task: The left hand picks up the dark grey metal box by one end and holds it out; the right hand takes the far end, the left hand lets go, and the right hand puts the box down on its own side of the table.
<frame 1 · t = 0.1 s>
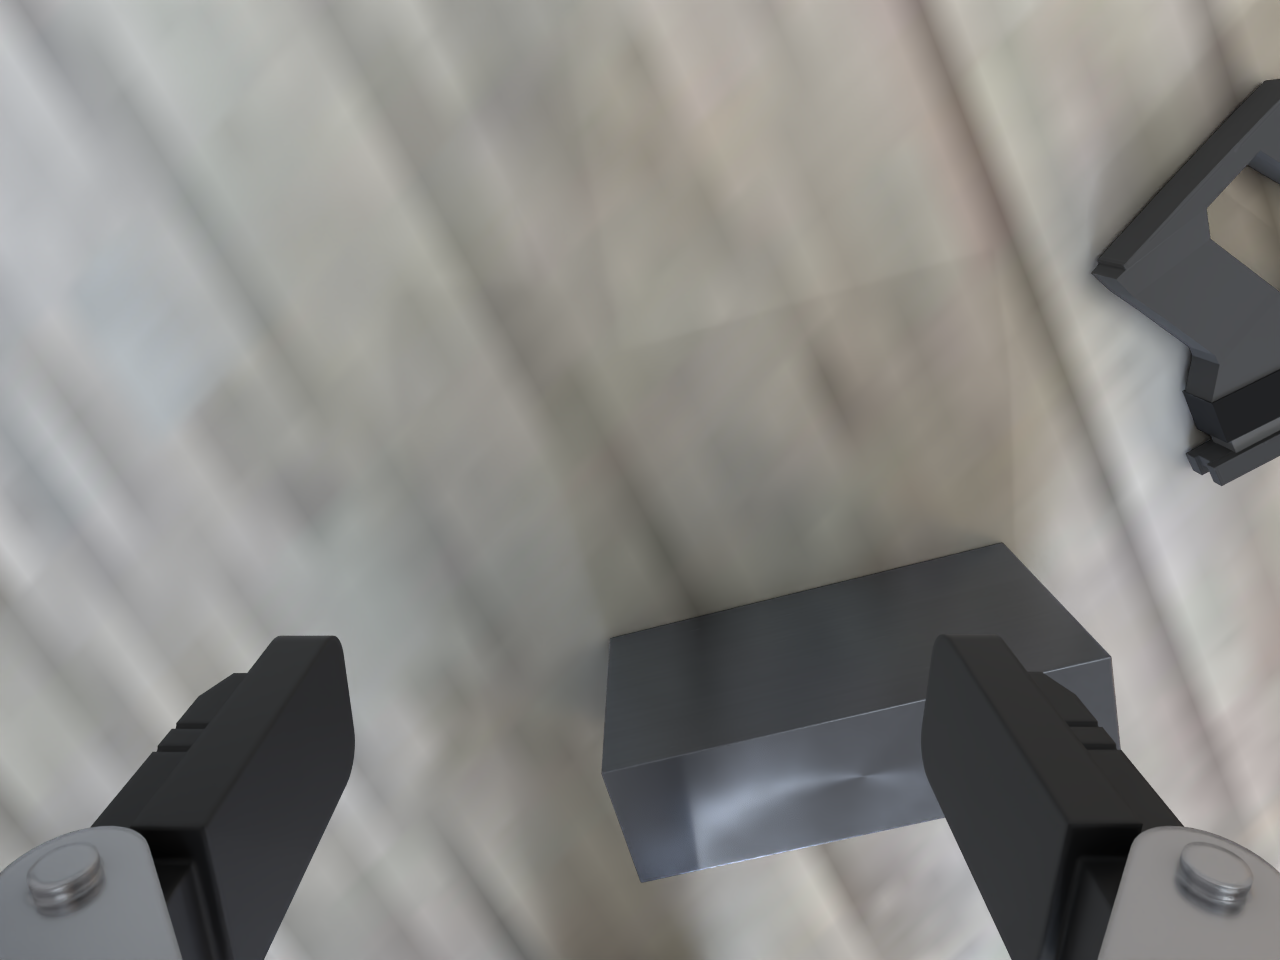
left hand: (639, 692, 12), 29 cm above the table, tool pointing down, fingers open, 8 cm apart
box: (813, 640, 45), on the table
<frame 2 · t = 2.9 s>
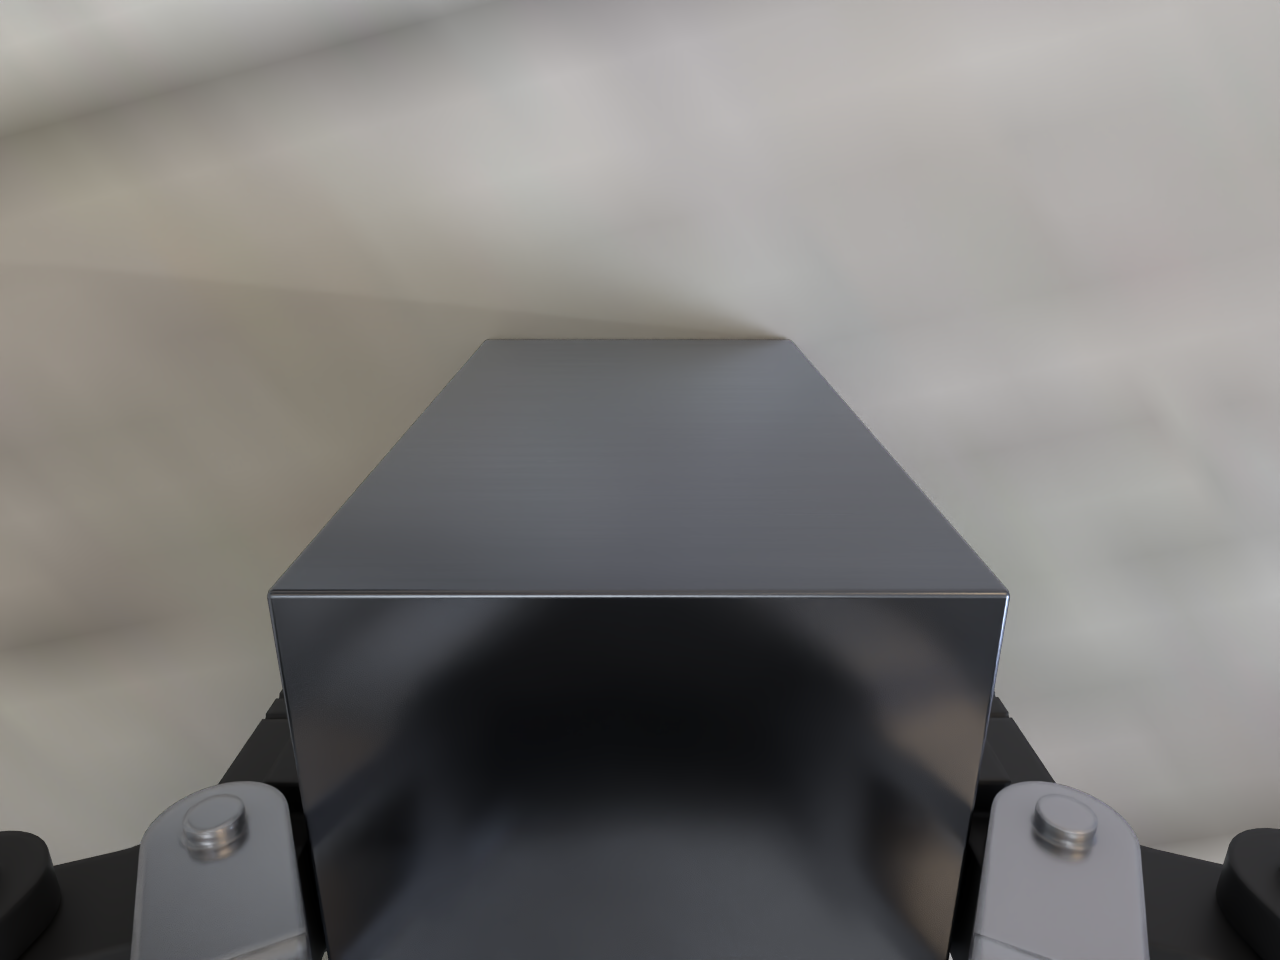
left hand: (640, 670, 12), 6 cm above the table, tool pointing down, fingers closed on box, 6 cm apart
box: (638, 768, 20), on the table, touching left hand
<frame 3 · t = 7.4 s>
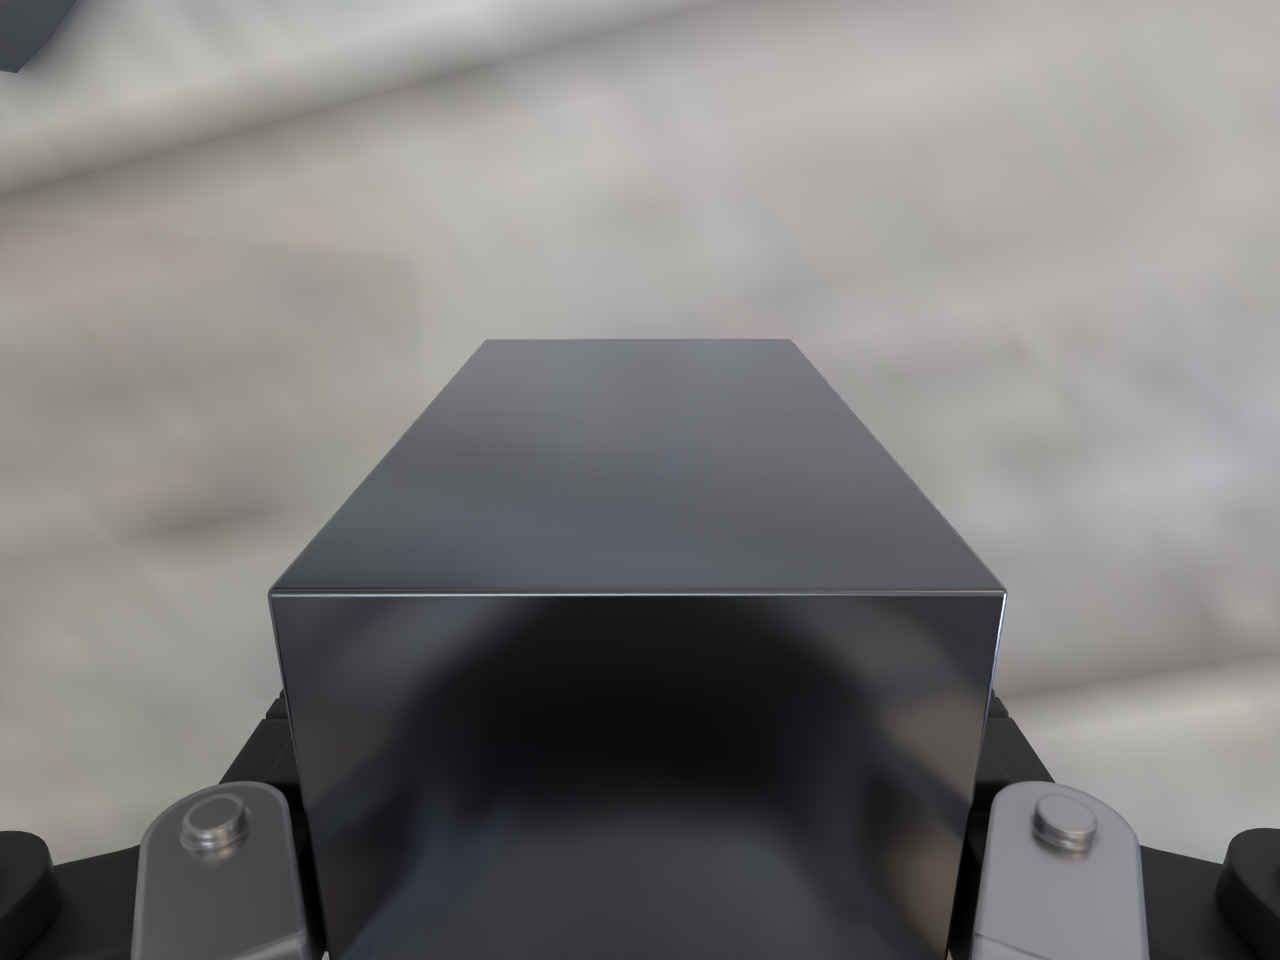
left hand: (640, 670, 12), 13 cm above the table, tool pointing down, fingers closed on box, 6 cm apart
box: (638, 767, 20), point 7 cm above the table, touching left hand, right hand
when the left hand's fingers open (13 cm above the table, at t = 8.6 s): box stays where it is, held by the right hand.
when the right hand's fingers open (7 cm above the table, at t = 15.4 s): box drops 1 cm, on the table.
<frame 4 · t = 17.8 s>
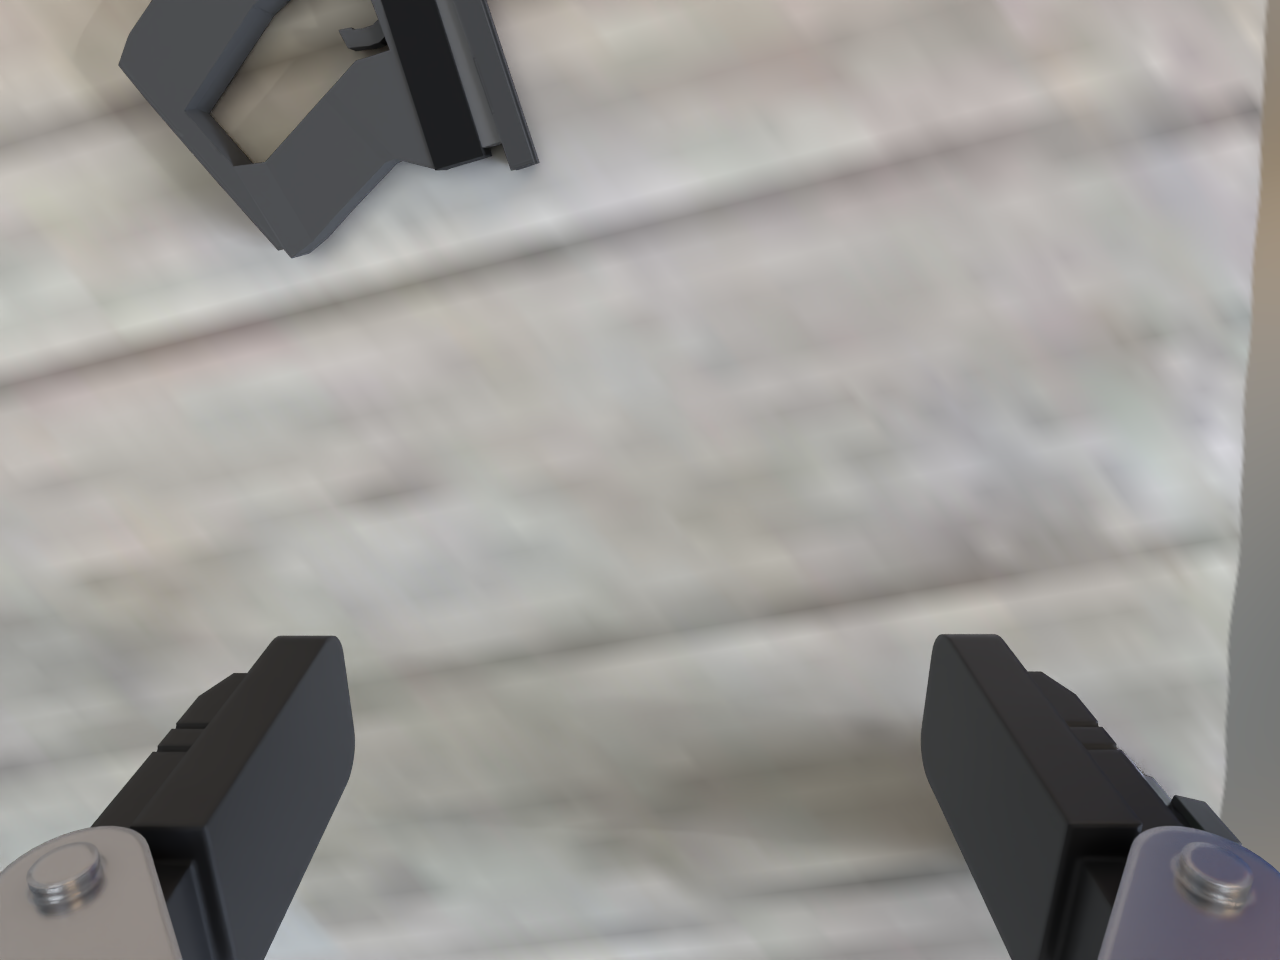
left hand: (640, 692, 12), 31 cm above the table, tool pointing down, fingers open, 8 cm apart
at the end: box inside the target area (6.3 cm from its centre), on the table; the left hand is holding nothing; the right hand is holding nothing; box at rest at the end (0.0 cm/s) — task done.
